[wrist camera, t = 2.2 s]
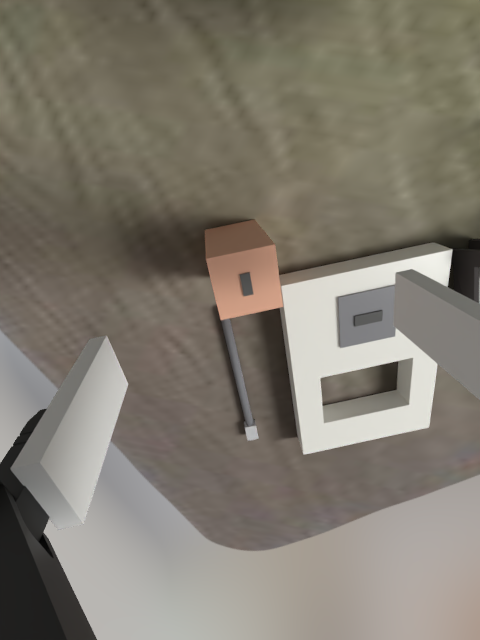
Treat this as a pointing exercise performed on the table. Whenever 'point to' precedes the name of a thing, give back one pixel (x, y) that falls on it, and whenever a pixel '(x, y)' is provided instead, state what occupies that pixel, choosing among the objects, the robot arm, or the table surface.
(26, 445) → the robot arm
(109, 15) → the table surface
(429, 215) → the table surface
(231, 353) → the cable
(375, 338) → the outlet plate
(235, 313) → the block
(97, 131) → the table surface
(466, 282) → the clip-on lamp
